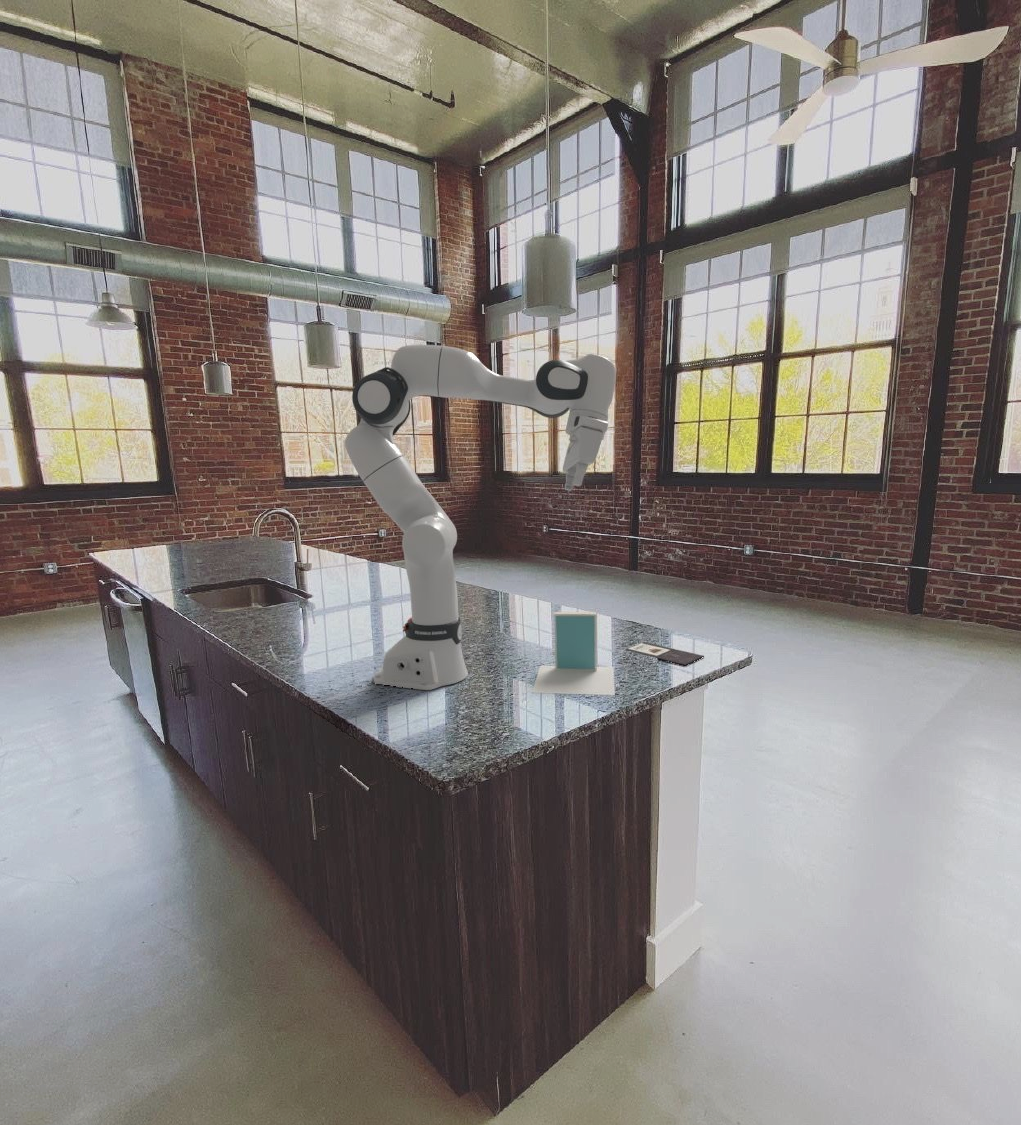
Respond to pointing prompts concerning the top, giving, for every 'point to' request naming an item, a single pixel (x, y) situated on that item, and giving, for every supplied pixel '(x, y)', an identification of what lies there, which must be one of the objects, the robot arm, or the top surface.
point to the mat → (575, 681)
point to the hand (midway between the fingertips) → (572, 487)
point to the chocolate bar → (665, 653)
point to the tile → (575, 641)
